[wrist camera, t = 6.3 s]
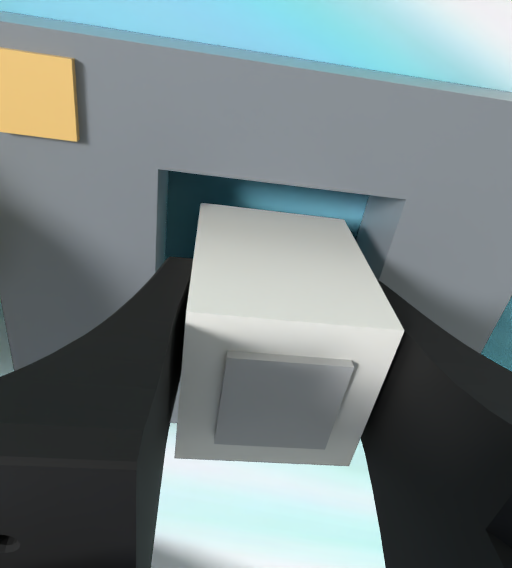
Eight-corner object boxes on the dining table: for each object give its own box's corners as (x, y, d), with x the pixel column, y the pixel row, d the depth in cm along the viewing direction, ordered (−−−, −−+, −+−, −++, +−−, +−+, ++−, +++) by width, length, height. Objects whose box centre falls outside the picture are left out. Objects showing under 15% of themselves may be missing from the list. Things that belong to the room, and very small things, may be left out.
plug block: (313, 331, 14) (351, 474, 10) (190, 320, 14) (173, 466, 10) (344, 219, 12) (408, 337, 8) (200, 202, 12) (185, 318, 7)
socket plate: (411, 385, 18) (438, 441, 16) (49, 361, 16) (20, 419, 14) (541, 97, 12) (614, 118, 10) (2, 11, 10) (-62, 12, 8)
